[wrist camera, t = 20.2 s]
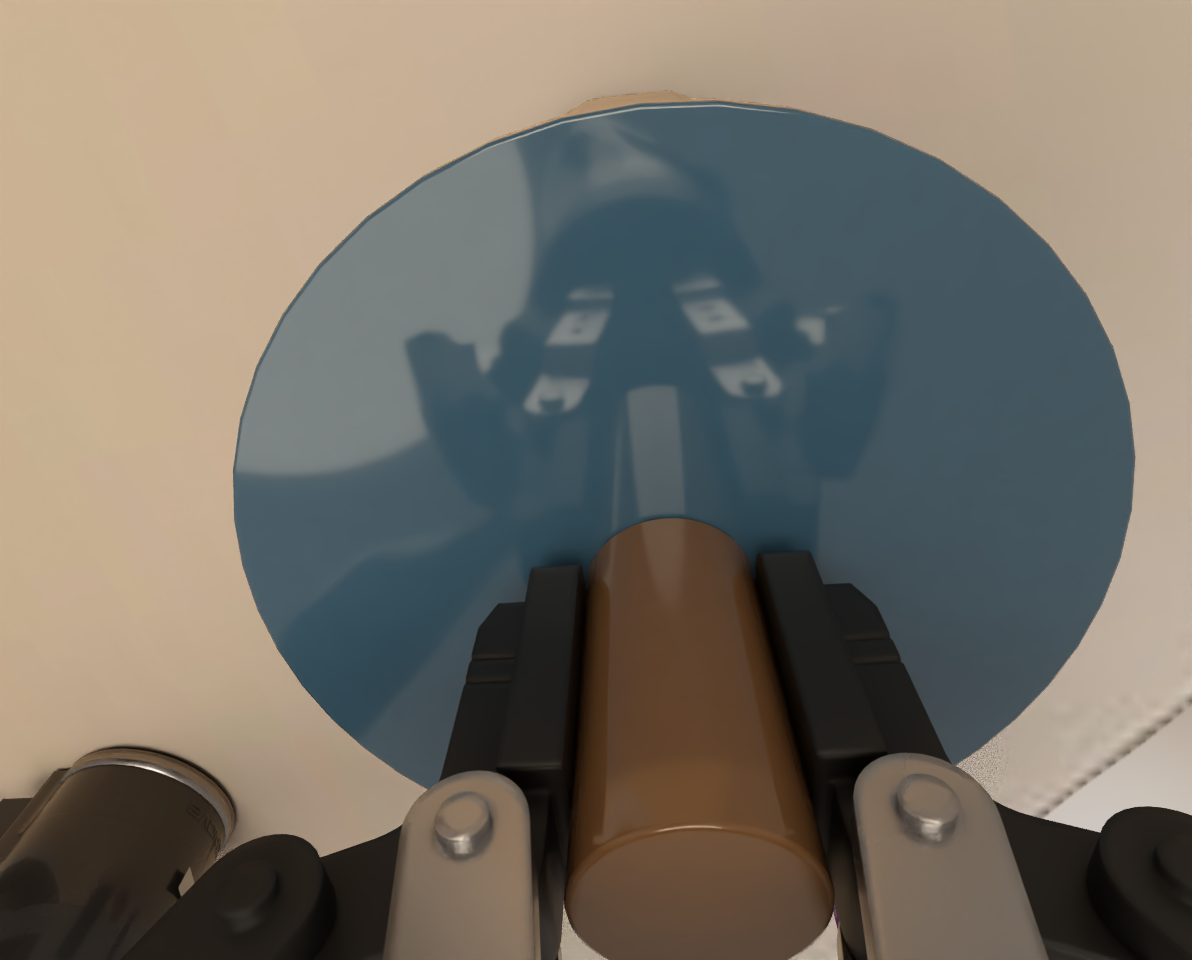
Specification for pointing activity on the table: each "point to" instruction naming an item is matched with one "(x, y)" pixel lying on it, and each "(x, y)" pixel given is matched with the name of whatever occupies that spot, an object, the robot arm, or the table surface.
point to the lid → (683, 473)
